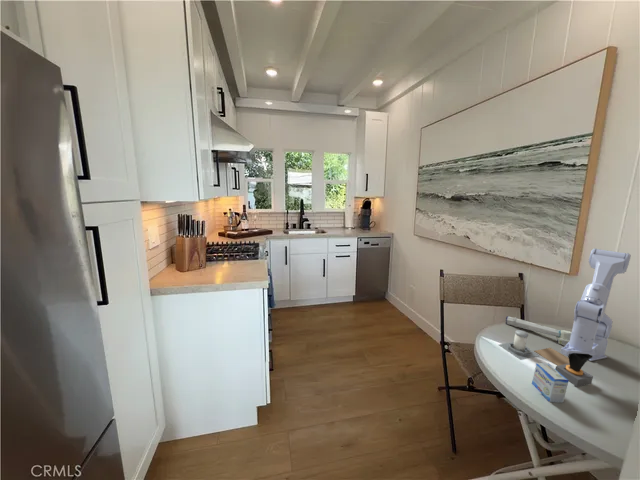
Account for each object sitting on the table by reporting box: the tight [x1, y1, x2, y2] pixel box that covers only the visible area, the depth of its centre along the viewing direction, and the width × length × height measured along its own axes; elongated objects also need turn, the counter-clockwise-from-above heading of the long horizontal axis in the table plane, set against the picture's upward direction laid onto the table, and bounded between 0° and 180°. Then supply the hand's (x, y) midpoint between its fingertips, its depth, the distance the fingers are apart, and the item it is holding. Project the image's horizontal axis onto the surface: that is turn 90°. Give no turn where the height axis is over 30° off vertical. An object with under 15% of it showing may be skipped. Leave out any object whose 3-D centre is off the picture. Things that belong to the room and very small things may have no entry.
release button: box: [565, 365, 584, 376], centre depth 94 cm, size 5×5×4 cm
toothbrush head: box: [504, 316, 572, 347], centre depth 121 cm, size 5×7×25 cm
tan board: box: [533, 347, 569, 366], centre depth 105 cm, size 9×10×1 cm
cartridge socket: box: [498, 341, 541, 361], centre depth 110 cm, size 10×10×2 cm
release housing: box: [554, 363, 594, 388], centre depth 94 cm, size 7×7×3 cm
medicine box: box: [531, 362, 570, 404], centre depth 87 cm, size 8×4×9 cm, turn 178°
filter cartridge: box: [513, 329, 529, 352], centre depth 109 cm, size 4×4×8 cm
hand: (574, 369), depth 94 cm, fingers closed, pressing on release button
